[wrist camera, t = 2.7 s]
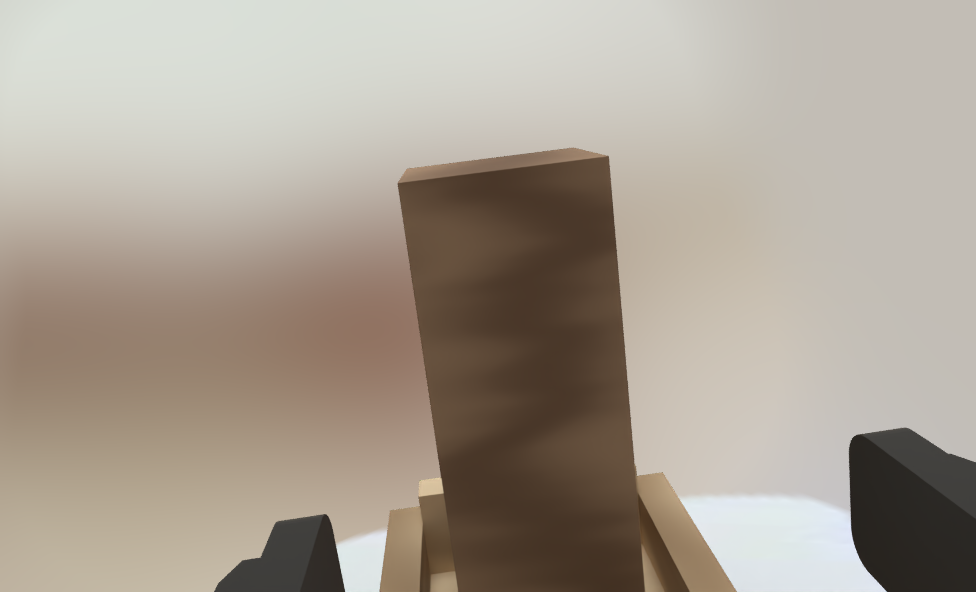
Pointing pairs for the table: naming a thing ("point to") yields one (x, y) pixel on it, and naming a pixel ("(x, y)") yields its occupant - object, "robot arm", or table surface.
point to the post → (527, 370)
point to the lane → (663, 529)
